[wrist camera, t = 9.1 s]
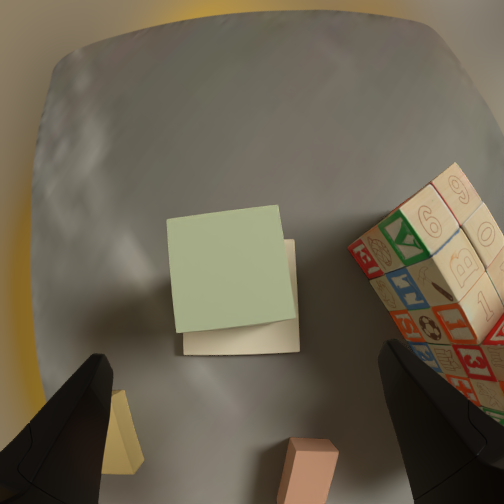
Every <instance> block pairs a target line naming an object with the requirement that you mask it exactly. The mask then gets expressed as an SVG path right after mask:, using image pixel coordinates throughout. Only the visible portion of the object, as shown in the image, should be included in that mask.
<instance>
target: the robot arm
mask: <svg viewBox="0 0 504 504" xmlns="http://www.w3.org/2000/svg"><path fill="white" fill-rule="evenodd" d="M378 365H379V369H380V374H381V379H382V384H383V389H384V394H385V399H386V403H387V406H388V409H389V413H390V416H391V419H392V422H393V426H394V429H395V432H396V436H397V439H398V443H399V446H400V450H401V453H402V457H403V460H404V464H405V468H406V472H407V475H408V479H409V483H410V487H411V491H412V495H413V500H414V504H504V426H503V425H502V424H500V423H499V422H497V421H496V420H495V419H493V418H492V417H490V416H489V415H488V414H486V413H485V412H484V411H483V410H481V409H480V408H479V407H478V406H476V405H475V404H474V403H473V402H472V401H470V400H468V398H467V397H466V396H464V395H463V394H462V393H461V392H460V391H459V390H457V389H456V388H455V387H454V386H453V385H451V384H450V383H449V382H448V381H447V380H445V379H444V378H443V377H442V376H441V375H439V374H438V373H437V372H436V371H435V370H433V369H432V368H431V367H430V366H429V365H427V364H426V363H425V362H424V361H423V360H421V359H420V358H419V357H418V356H417V355H415V354H414V353H413V352H412V351H411V350H409V349H408V348H407V347H406V346H404V345H403V344H402V343H401V342H400V341H398V340H396V339H393V340H387V341H385V342H384V344H383V346H382V349H381V351H380V354H379V356H378ZM112 385H113V370H112V367H111V365H110V363H109V361H108V359H107V357H106V356H105V355H104V354H97V353H94V354H92V355H91V356H90V357H89V358H88V359H87V360H86V361H85V362H84V363H83V364H82V365H81V366H80V367H79V368H78V369H77V371H76V372H75V373H74V374H73V375H72V376H71V377H70V378H69V379H68V380H67V381H66V382H65V383H64V384H63V385H62V387H61V388H60V389H59V390H58V391H57V392H56V393H55V394H54V395H53V396H52V397H51V399H50V400H49V401H48V402H47V403H46V404H45V405H44V406H43V407H42V408H41V410H40V411H39V412H38V413H37V414H36V415H35V416H34V417H33V419H32V420H31V421H30V423H28V424H27V425H26V426H25V428H24V429H23V430H22V431H21V432H20V433H19V434H18V435H17V436H16V437H15V438H14V439H13V441H11V442H10V443H9V444H8V445H7V446H6V447H5V448H4V449H3V450H2V451H1V452H0V504H98V499H99V489H100V481H101V472H102V465H103V458H104V451H105V444H106V438H107V432H108V426H109V420H110V411H111V398H112Z"/></svg>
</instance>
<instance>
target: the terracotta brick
mask: <svg viewBox="0 0 504 504" xmlns="http://www.w3.org/2000/svg"><path fill="white" fill-rule="evenodd" d="M338 454H339V451H338V450H337V449H336V447H335V446H334V445H333V444H332V443H331V441H330V440H329V439H316V438H295V437H290V439H289V444H288V449H287V454H286V459H285V463H284V468H283V473H282V477H281V482H280V486H279V491H278V495H277V499H276V500H277V504H325V502H326V499H327V495H328V492H329V488H330V485H331V481H332V478H333V474H334V470H335V466H336V462H337V458H338Z"/></svg>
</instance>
